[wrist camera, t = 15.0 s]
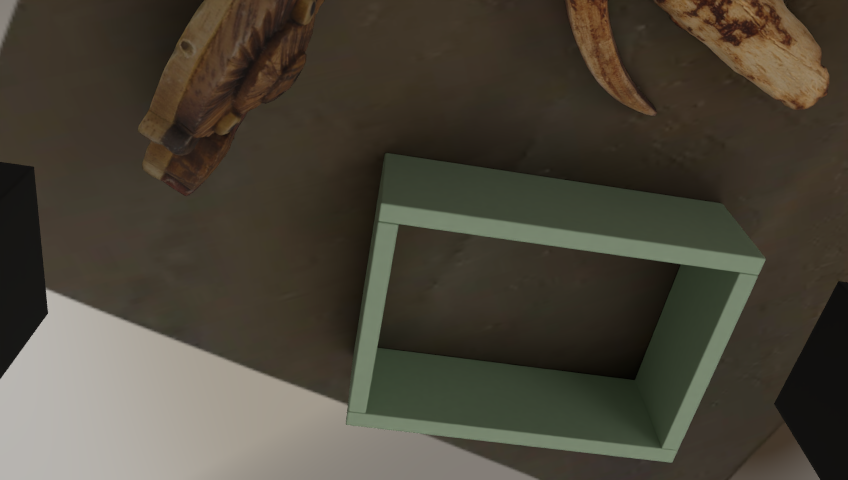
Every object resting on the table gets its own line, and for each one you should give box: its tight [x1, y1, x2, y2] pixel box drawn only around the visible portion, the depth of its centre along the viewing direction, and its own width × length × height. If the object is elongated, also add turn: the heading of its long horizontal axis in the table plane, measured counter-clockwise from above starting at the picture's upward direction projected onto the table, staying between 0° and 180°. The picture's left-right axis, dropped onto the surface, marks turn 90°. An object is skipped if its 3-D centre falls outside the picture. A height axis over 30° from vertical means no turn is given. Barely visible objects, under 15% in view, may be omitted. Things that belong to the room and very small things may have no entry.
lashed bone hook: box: [565, 0, 829, 116], centre depth 34 cm, size 9×5×18 cm
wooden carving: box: [138, 0, 325, 196], centre depth 32 cm, size 16×5×10 cm, turn 149°
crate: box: [346, 153, 765, 462], centre depth 42 cm, size 14×19×6 cm
